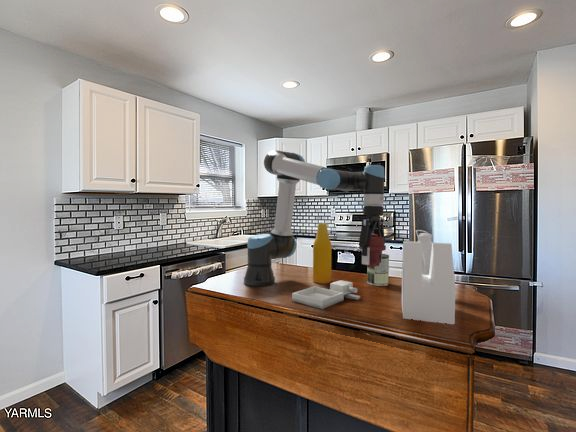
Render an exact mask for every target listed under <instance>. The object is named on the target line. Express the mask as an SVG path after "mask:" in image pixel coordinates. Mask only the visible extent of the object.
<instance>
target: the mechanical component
mask: <svg viewBox="0 0 576 432" xmlns="http://www.w3.org/2000/svg"><path fill="white" fill-rule="evenodd" d="M358 246H359V245H358ZM368 247H370V252H369V265H365V264H363V265H364V266H370V267H375V266H379V263H381V257H382V254H383V252H384V251H385V250H387V246H386V245H384V238H383V237H380V236H378V234H374V233H372V235H371V239H370V242H369V246H368ZM358 248H359V249H360V250H362V247H360V246H359V247H358Z"/></svg>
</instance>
